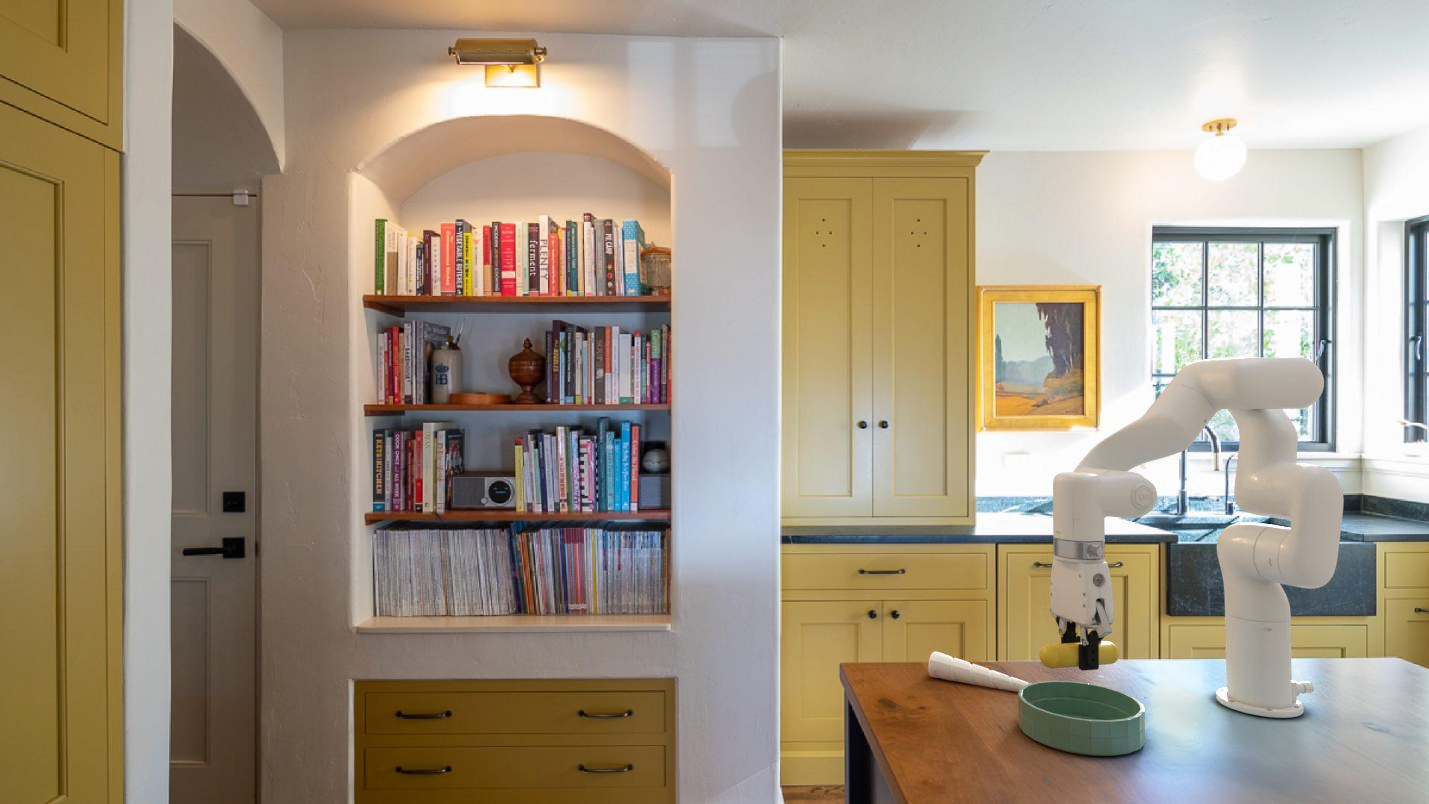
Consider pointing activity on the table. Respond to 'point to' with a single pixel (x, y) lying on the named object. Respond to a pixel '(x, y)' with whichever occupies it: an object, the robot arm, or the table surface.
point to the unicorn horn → (970, 673)
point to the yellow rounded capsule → (1075, 654)
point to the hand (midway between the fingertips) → (1079, 664)
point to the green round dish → (1081, 718)
